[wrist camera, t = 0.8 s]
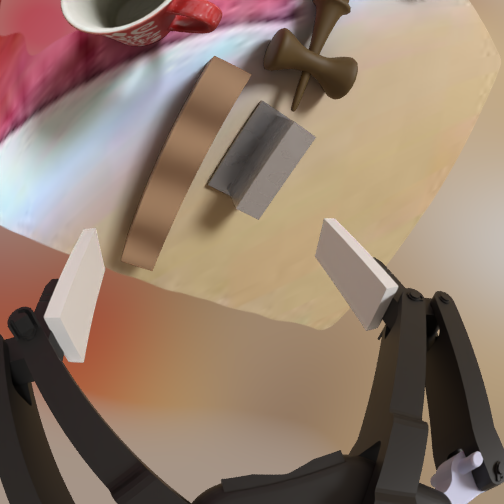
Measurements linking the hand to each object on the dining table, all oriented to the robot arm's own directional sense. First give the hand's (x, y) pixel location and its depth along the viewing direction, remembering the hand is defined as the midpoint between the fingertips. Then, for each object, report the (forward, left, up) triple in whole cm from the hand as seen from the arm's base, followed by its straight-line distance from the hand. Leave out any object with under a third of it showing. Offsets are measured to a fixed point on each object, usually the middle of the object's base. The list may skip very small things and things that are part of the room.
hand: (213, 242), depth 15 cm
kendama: (+4, +20, -20) cm, 29 cm away
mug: (-12, +12, -20) cm, 26 cm away
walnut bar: (-2, -1, -20) cm, 20 cm away
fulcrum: (+7, +4, -20) cm, 21 cm away
